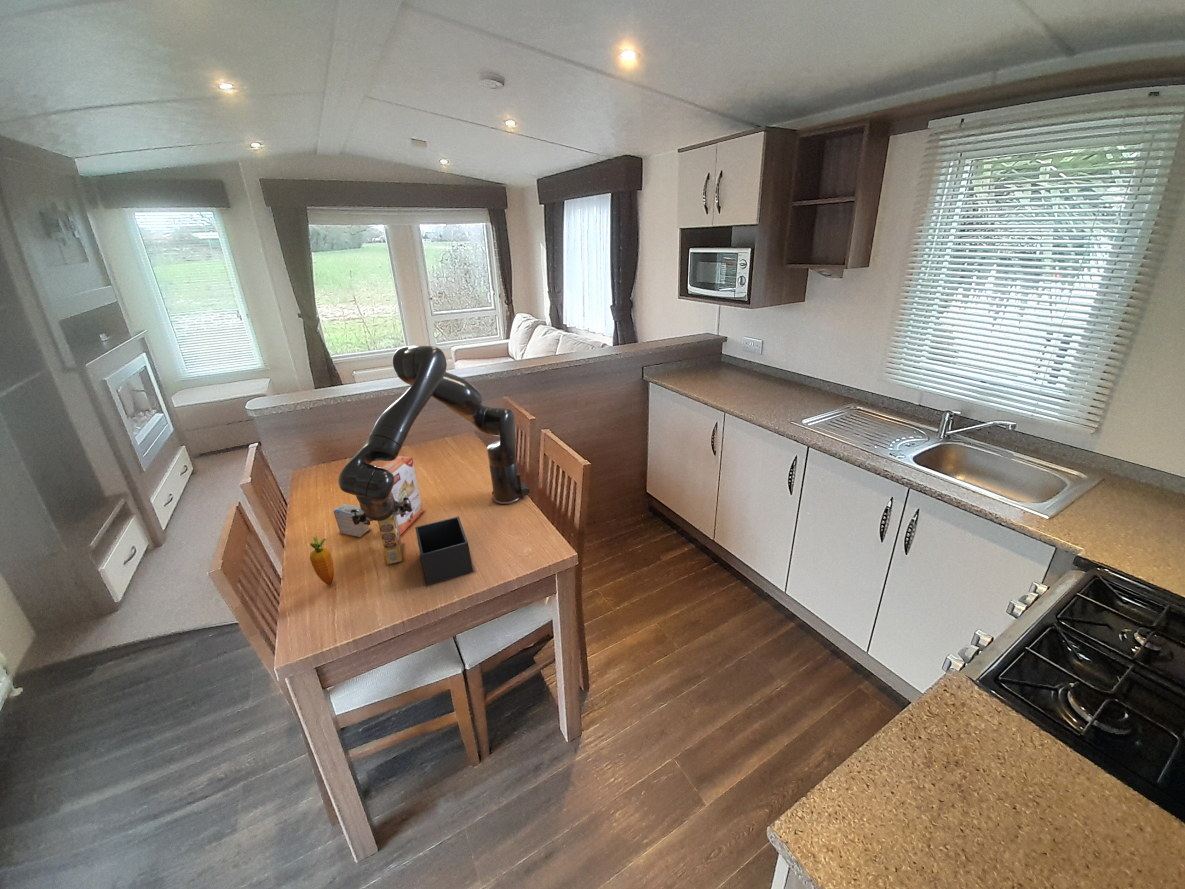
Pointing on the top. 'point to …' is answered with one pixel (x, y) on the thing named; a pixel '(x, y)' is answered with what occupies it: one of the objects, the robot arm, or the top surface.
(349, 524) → the medicine box
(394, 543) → the candy box
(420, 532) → the waste bin
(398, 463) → the cracker box
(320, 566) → the carrot
